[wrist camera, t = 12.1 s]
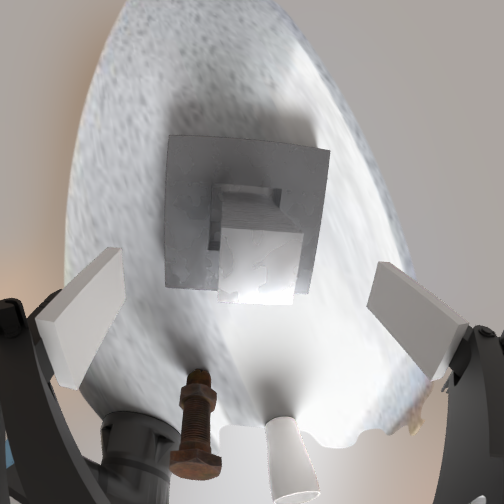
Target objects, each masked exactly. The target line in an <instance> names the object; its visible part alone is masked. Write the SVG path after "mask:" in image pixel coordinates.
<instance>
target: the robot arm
mask: <svg viewBox="0 0 504 504" xmlns="http://www.w3.org/2000/svg"><path fill="white" fill-rule="evenodd" d="M125 300H126V292H125V282H124V271H123V257H122V248H113V247H108V248H106V249H105V250H104V251H103V252H102V253H101V254H100V255H99V256H97V257H96V258H95V259H94V260H93V261H92V262H91V263H90V264H89V265H88V266H87V267H85V268H84V269H83V270H82V271H81V272H80V273H79V274H78V275H77V276H76V277H75V278H74V279H73V280H72V281H71V282H70V283H69V284H68V285H67V286H66V287H65V288H64V289H60V290H58V291H56V292H54V293H52V294H50V295H49V296H48V297H47V298H46V299H45V300H44V302H42V303H41V304H40V305H39V307H37V308H36V309H35V310H34V311H33V312H32V313H31V314H30V316H29V317H28V318H27V319H26V316H25V312H24V309H23V305H22V303H21V301H20V300H18V299H15V298H8V299H3V300H0V504H169V488H170V477H171V474H172V472H171V471H169V461H170V451H176V450H179V445H180V442H181V435H180V434H179V433H178V432H177V431H176V430H175V429H174V428H172V427H171V426H169V425H168V424H166V423H164V422H162V421H160V420H158V419H155V418H153V417H150V416H147V415H143V414H139V413H133V412H114V413H110V414H108V415H107V416H106V417H105V418H104V420H103V423H102V426H101V430H100V432H101V445H102V455H103V459H102V463H101V465H100V464H98V463H96V462H94V461H92V460H90V459H88V458H86V457H84V456H82V455H81V453H80V451H79V449H78V447H77V445H76V443H75V441H74V439H73V436H72V434H71V432H70V430H69V428H68V425H67V423H66V421H65V418H64V416H63V414H62V411H61V409H60V406H59V404H58V401H57V398H56V396H55V393H54V390H53V387H52V385H51V383H50V380H51V378H52V376H53V375H54V374H55V377H56V379H57V381H58V384H59V386H62V387H66V388H69V389H73V390H78V388H79V386H80V384H81V382H82V380H83V378H84V376H85V374H86V372H87V370H88V368H89V366H90V364H91V362H92V360H93V358H94V356H95V354H96V352H97V350H98V349H99V347H100V345H101V343H102V341H103V339H104V337H105V336H106V334H107V332H108V330H109V328H110V327H111V325H112V323H113V321H114V319H115V318H116V316H117V314H118V312H119V311H120V309H121V307H122V306H123V304H124V302H125ZM367 308H368V309H369V310H370V311H371V312H372V313H373V314H374V315H375V317H376V318H377V319H378V320H379V321H380V322H381V323H382V324H383V326H384V327H385V328H386V329H387V330H388V331H389V332H390V334H391V335H392V336H393V337H394V338H395V339H396V341H397V342H398V343H399V344H400V345H401V346H402V348H403V349H404V350H405V351H406V352H407V353H408V355H409V356H410V357H411V358H412V359H413V361H414V362H415V363H416V364H417V365H418V367H419V368H420V369H421V370H422V371H423V373H424V374H425V375H426V376H427V378H428V379H429V380H430V381H434V380H436V379H440V378H442V377H443V375H444V374H445V372H446V370H447V368H448V366H449V367H450V368H451V369H452V372H451V374H450V376H449V378H448V379H447V381H446V383H445V384H444V386H443V388H442V391H441V392H443V391H444V389H445V388H448V390H447V392H446V393H448V394H449V395H448V415H447V427H446V438H445V446H444V452H443V459H442V465H441V470H440V476H439V481H438V485H437V489H436V494H435V498H434V502H433V504H504V331H503V333H502V335H501V337H497V336H496V334H495V332H494V331H492V330H491V329H489V328H488V327H485V326H480V325H477V326H475V327H474V328H472V327H470V326H469V322H468V321H467V320H465V319H464V318H463V317H462V316H460V315H459V314H458V313H457V312H455V311H454V310H453V309H452V308H450V307H449V306H448V305H447V304H445V303H444V302H443V301H441V300H440V299H439V298H438V297H436V296H435V295H434V294H432V293H431V292H430V291H428V290H427V289H426V288H424V287H423V286H422V285H420V284H419V283H418V282H416V281H415V280H414V279H412V278H411V277H409V276H408V275H407V274H405V273H404V272H402V271H401V270H400V269H398V268H397V267H395V266H394V265H393V264H391V263H390V262H378V265H377V269H376V273H375V277H374V281H373V285H372V289H371V292H370V296H369V300H368V303H367ZM5 430H6V433H7V438H8V439H7V440H6V441H5Z"/></svg>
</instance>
